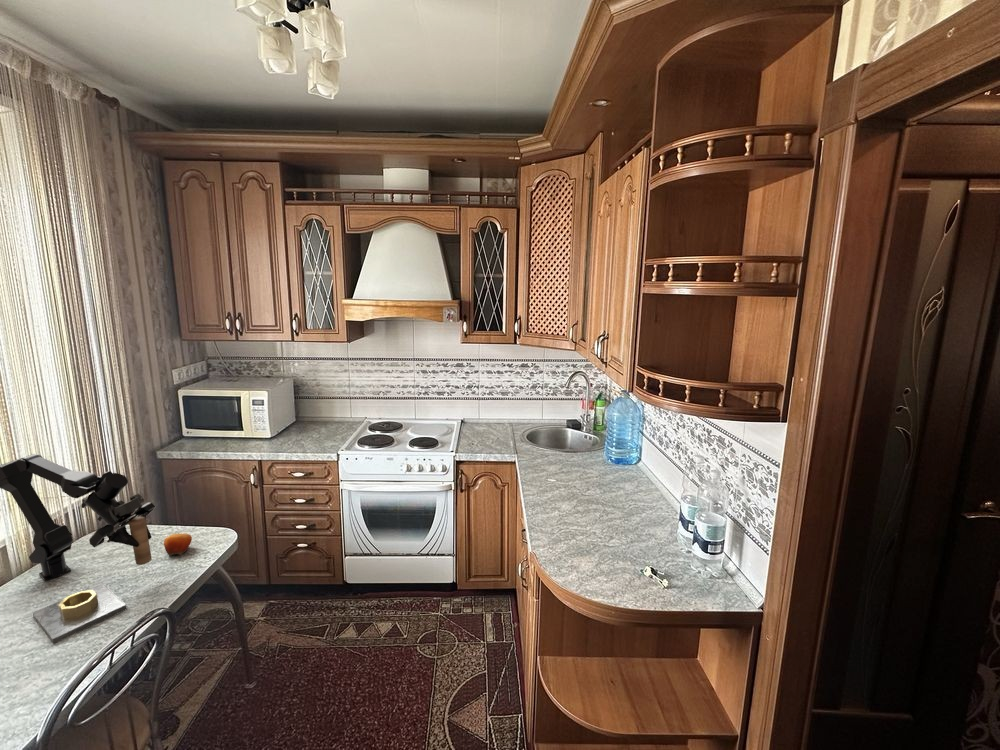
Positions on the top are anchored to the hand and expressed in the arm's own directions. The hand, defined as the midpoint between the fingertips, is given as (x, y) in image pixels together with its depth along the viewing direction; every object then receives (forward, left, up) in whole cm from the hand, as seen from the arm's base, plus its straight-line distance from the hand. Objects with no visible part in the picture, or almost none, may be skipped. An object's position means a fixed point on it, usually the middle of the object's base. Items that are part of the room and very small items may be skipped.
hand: (144, 542), depth 147 cm
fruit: (-11, +12, -14) cm, 21 cm away
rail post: (-1, -1, -7) cm, 7 cm away
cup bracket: (0, -18, -13) cm, 22 cm away
